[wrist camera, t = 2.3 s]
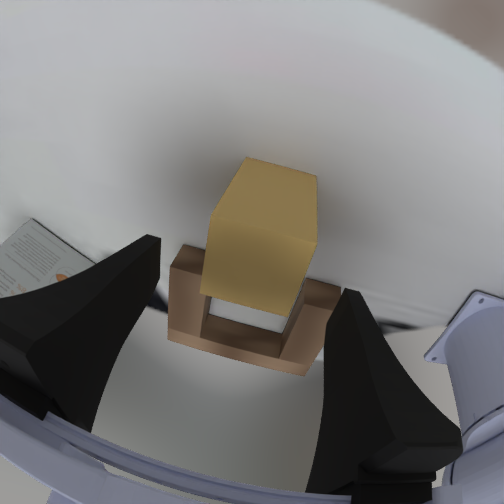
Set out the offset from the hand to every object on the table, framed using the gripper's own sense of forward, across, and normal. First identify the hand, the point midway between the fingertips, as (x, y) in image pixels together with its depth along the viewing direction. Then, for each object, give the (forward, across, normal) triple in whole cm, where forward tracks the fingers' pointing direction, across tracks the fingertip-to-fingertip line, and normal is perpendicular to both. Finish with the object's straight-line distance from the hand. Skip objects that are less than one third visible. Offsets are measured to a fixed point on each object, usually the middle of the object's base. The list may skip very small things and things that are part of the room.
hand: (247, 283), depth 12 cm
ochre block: (+8, 0, 0) cm, 8 cm away
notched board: (+8, -1, +8) cm, 11 cm away
